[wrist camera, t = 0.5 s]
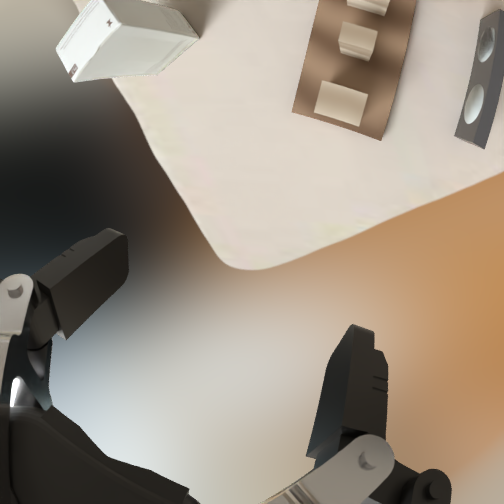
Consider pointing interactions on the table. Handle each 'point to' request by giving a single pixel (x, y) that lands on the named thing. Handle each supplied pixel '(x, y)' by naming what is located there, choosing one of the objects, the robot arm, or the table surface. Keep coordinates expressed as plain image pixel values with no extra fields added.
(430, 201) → the table surface
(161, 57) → the skincare box
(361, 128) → the wooden peg rack
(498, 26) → the dark flat rectangular bar
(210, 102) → the table surface
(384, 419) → the robot arm
